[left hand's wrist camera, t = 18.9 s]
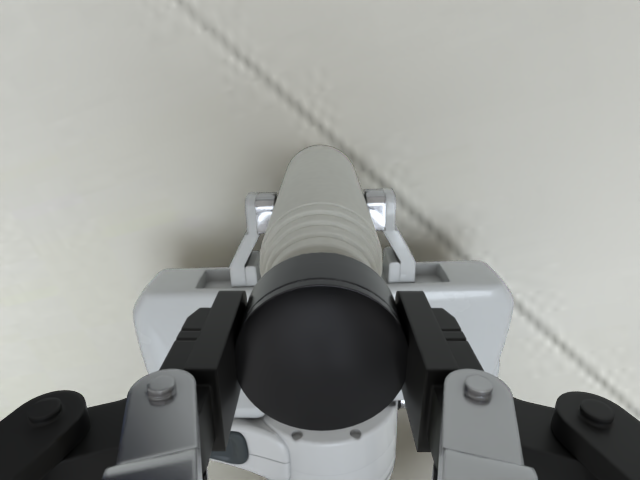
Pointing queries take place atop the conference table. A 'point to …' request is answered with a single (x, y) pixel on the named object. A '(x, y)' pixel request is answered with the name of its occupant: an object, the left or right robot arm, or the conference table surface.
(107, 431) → the left robot arm
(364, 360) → the cap
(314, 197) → the bottle
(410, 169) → the conference table surface
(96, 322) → the conference table surface
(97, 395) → the conference table surface
